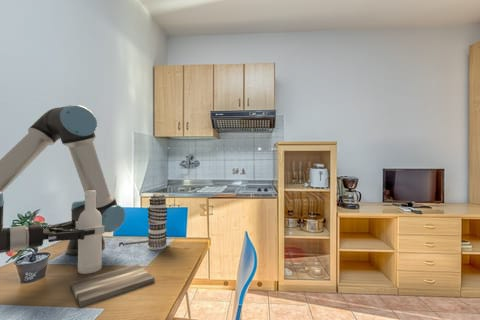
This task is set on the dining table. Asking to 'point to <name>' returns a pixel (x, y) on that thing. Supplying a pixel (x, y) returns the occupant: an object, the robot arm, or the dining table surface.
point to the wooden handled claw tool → (132, 242)
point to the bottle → (90, 237)
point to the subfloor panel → (110, 284)
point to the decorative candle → (157, 222)
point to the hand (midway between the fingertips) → (99, 225)
